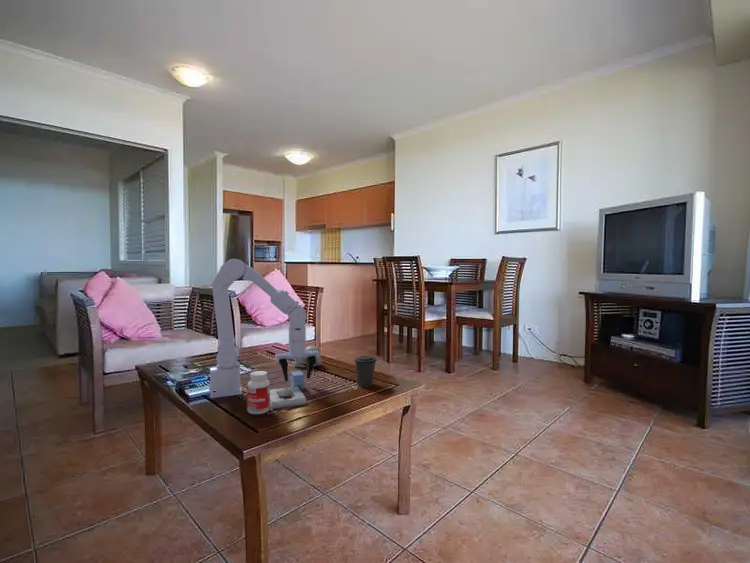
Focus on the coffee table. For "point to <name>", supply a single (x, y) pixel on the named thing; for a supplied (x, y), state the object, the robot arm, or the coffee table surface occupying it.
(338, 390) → the coffee table surface
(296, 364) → the round bodied animal figurine
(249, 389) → the pill bottle
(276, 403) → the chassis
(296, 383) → the block
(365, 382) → the coffee cup
